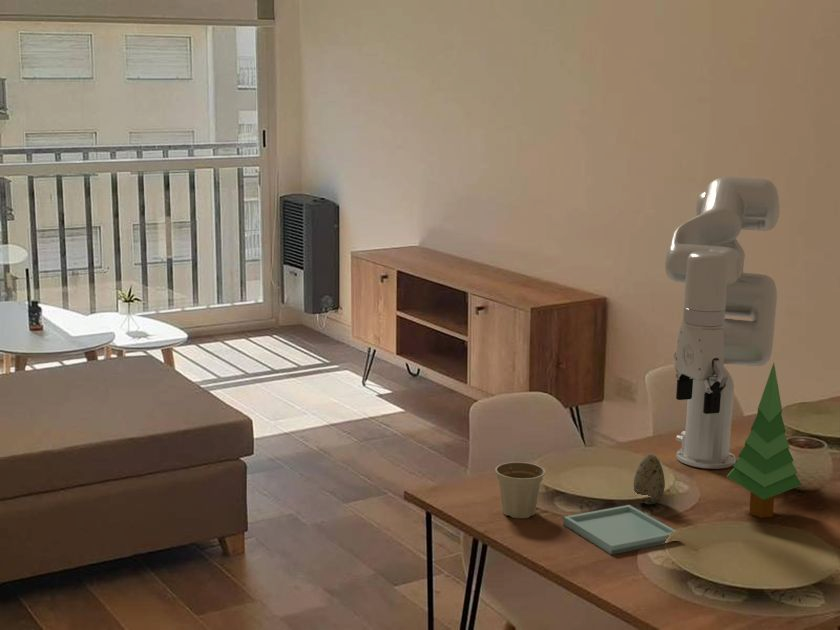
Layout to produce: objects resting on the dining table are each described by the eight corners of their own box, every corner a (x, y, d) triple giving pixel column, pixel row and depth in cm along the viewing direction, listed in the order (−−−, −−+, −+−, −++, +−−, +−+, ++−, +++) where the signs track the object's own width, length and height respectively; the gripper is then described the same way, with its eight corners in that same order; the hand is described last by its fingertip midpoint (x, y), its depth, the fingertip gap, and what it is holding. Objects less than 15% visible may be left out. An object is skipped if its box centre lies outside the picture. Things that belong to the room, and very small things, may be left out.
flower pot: (510, 525, 218) (512, 481, 217) (484, 508, 227) (486, 465, 225) (552, 517, 223) (554, 474, 221) (526, 501, 231) (527, 459, 229)
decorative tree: (707, 503, 232) (718, 355, 226) (778, 497, 236) (791, 351, 230) (742, 529, 219) (755, 372, 213) (816, 523, 223) (831, 369, 217)
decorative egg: (627, 504, 230) (630, 455, 228) (639, 495, 235) (642, 448, 233) (656, 511, 227) (659, 461, 225) (668, 502, 232) (671, 453, 230)
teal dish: (563, 524, 219) (563, 516, 219) (628, 512, 226) (629, 504, 226) (611, 554, 206) (611, 546, 206) (679, 540, 213) (679, 532, 213)
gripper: (662, 309, 227) (657, 395, 231) (711, 328, 211) (704, 420, 215) (696, 308, 230) (690, 393, 233) (747, 326, 214) (740, 417, 217)
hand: (697, 406), depth 224 cm, fingers open, 9 cm apart
